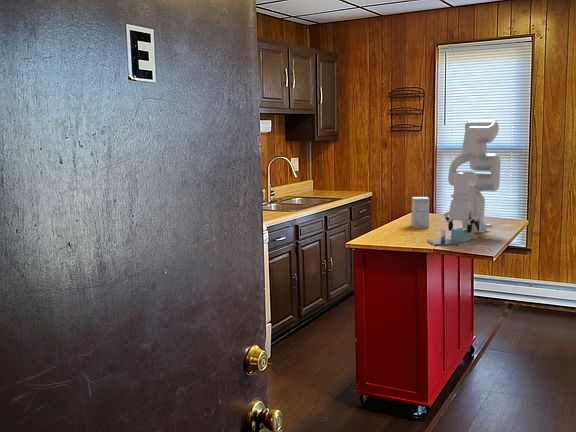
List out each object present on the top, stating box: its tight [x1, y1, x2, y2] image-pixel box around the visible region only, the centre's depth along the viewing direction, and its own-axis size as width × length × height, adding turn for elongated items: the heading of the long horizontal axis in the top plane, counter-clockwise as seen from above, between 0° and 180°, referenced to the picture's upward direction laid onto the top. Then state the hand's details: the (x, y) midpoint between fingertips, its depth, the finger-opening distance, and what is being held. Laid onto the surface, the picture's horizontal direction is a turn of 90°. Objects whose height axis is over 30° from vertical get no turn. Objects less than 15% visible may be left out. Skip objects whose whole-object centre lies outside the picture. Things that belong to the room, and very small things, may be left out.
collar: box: [450, 227, 469, 243], centre depth 303 cm, size 6×6×6 cm
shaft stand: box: [426, 228, 460, 247], centre depth 295 cm, size 12×12×7 cm
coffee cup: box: [461, 214, 481, 240], centre depth 312 cm, size 9×9×12 cm
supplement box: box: [410, 196, 430, 228], centre depth 349 cm, size 10×9×17 cm
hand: (459, 231), depth 302 cm, fingers open, 9 cm apart
